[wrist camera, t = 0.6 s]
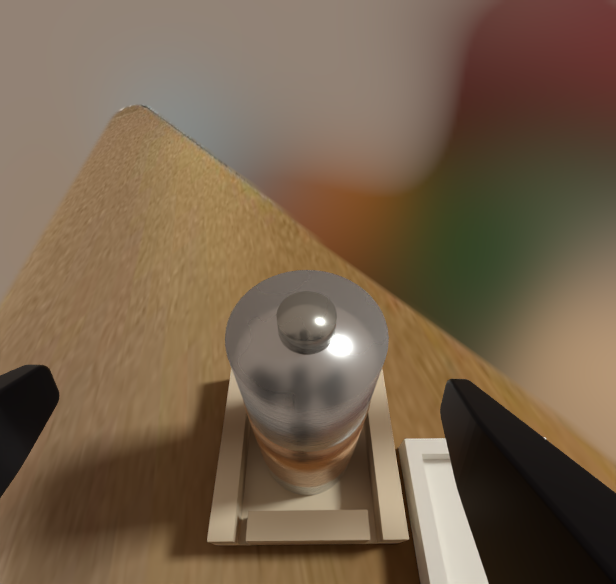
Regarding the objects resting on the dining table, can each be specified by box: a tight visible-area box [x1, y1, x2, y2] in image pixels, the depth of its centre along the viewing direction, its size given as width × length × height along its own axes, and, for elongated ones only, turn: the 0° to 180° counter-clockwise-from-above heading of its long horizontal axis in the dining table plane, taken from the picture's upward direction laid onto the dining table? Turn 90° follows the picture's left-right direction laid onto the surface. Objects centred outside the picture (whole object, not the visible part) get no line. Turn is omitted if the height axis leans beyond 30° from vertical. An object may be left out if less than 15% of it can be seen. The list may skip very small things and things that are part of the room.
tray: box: [398, 437, 546, 584], centre depth 17 cm, size 10×8×2 cm
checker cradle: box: [207, 368, 409, 546], centre depth 20 cm, size 9×9×2 cm
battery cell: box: [225, 270, 388, 496], centre depth 16 cm, size 5×5×13 cm
